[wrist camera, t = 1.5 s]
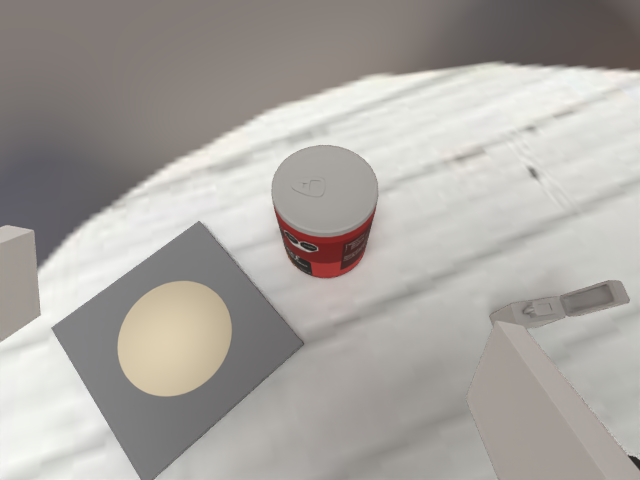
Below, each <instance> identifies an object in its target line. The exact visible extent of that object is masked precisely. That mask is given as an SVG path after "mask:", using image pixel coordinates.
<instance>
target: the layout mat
mask: <svg viewBox="0 0 640 480" xmlns="http://www.w3.org/2000/svg"><path fill="white" fill-rule="evenodd" d="M52 330H53V332H54V333H55V335H56V337H57V338H58V340H59V342H60V344H61V345H62V347H63V349H64V350H65V352H66V354H67V355H68V357H69V359H70V360H71V362H72V364H73V366H74V367H75V369H76V371H77V372H78V374H79V376H80V377H81V379H82V381H83V382H84V384H85V386H86V388H87V389H88V391H89V393H90V394H91V396H92V398H93V399H94V401H95V403H96V404H97V406H98V408H99V409H100V411H101V413H102V415H103V416H104V418H105V420H106V421H107V423H108V425H109V426H110V428H111V430H112V431H113V433H114V435H115V437H116V438H117V440H118V442H119V443H120V445H121V447H122V448H123V450H124V452H125V453H126V455H127V457H128V459H129V460H130V462H131V464H132V465H133V467H134V469H135V470H136V472H137V474H138V475H139V477H140V479H141V480H153V479H155V478H156V477H157V476H158V475H159V474H160V473H161V472H162V471H163V470H165V469H166V468H167V467H168V466H169V465H170V464H171V463H172V462H173V461H175V460H176V459H177V458H178V457H179V456H180V455H181V454H182V453H184V452H185V451H186V450H187V449H188V448H189V447H190V446H191V445H192V444H194V443H195V442H196V441H197V440H198V439H199V438H200V437H201V436H202V435H204V434H205V433H206V432H207V431H208V430H209V429H210V428H211V427H212V426H214V425H215V424H216V423H217V422H218V421H219V420H220V419H221V418H222V417H224V416H225V415H226V414H227V413H228V412H229V411H230V410H231V409H232V408H234V407H235V406H236V405H237V404H238V403H239V402H240V401H241V400H242V399H244V398H245V397H246V396H247V395H248V394H249V393H250V392H251V391H252V390H254V389H255V388H256V387H257V386H258V385H259V384H260V383H261V382H262V381H264V380H265V379H266V378H267V377H268V376H269V375H270V374H271V373H272V372H274V371H275V370H276V369H277V368H278V367H279V366H280V365H281V364H282V363H284V362H285V361H286V360H287V359H288V358H289V357H290V356H291V355H292V354H294V353H295V352H296V351H297V350H298V349H299V348H300V347H301V346H303V343H302V342H301V340H300V339H299V338H298V337H297V336H296V334H295V333H294V332H293V331H292V330H291V329H290V327H289V326H288V325H287V324H286V323H285V321H284V320H283V319H282V318H281V317H280V316H279V314H278V313H277V312H276V311H275V310H274V309H273V307H272V306H271V305H270V304H269V303H268V301H267V300H266V299H265V298H264V297H263V296H262V294H261V293H260V292H259V291H258V290H257V288H256V287H255V286H254V285H253V284H252V283H251V281H250V280H249V279H248V278H247V277H246V275H245V274H244V273H243V272H242V271H241V270H240V268H239V267H238V266H237V265H236V264H235V262H234V261H233V260H232V259H231V258H230V257H229V255H228V254H227V253H226V252H225V251H224V249H223V248H222V247H221V246H220V245H219V244H218V242H217V241H216V240H215V239H214V238H213V236H212V235H211V234H210V233H209V232H208V231H207V229H206V228H205V227H204V226H203V225H202V223H201V222H200V221H198V222H197V223H195V224H194V225H193V226H191V227H190V228H189V229H187V230H186V231H184V232H183V233H182V234H180V235H179V236H178V237H176V238H175V239H173V240H172V241H171V242H169V243H168V244H166V245H165V246H164V247H162V248H161V249H160V250H158V251H157V252H155V253H154V254H153V255H151V256H150V257H149V258H147V259H146V260H144V261H143V262H142V263H140V264H139V265H137V266H136V267H135V268H133V269H132V270H131V271H129V272H128V273H126V274H125V275H124V276H122V277H121V278H120V279H118V280H117V281H115V282H114V283H113V284H111V285H110V286H109V287H107V288H106V289H104V290H103V291H102V292H100V293H99V294H97V295H96V296H95V297H93V298H92V299H91V300H89V301H88V302H86V303H85V304H84V305H82V306H81V307H80V308H78V309H77V310H75V311H74V312H73V313H71V314H70V315H68V316H67V317H66V318H64V319H63V320H62V321H60V322H59V323H57V324H56V325H55V326H53V327H52Z"/></svg>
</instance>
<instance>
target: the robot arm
mask: <svg viewBox="0 0 640 480" xmlns="http://www.w3.org/2000/svg"><path fill="white" fill-rule="evenodd" d="M40 315H41V313H40V301H39V288H38V276H37V263H36V251H35V239H34V230H30V229H24V228H19V227H14V226H9V225H6V226H3V227H0V342H2V341H3V340H5V339H6V338H7V337H9V336H10V335H12V334H13V333H15V332H16V331H18V330H19V329H21V328H22V327H24V326H25V325H27V324H28V323H30V322H31V321H33V320H34V319H36V318H37V317H38V316H40ZM466 401H467V403H468V406H469V408H470V411H471V413H472V416H473V418H474V421H475V423H476V426H477V428H478V431H479V433H480V435H481V438H482V440H483V443H484V445H485V448H486V450H487V453H488V455H489V458H490V460H491V463H492V465H493V467H494V470H495V472H496V475H497V477H498V480H640V460H639V459H638V458H636V457H633V456H628V455H627V454H626V453H625V452H624V451H623V449H622V448H621V447H620V446H619V444H618V443H617V442H616V441H615V439H614V438H613V437H612V436H611V434H610V433H609V432H608V431H607V429H606V428H605V427H604V426H603V424H602V423H601V422H600V421H599V420H598V418H597V417H596V416H595V415H594V413H593V412H592V411H591V410H590V408H589V407H588V406H587V405H586V403H585V402H584V401H583V400H582V398H581V397H580V396H579V395H578V393H577V392H576V391H575V390H574V388H573V387H572V386H571V385H570V383H569V382H568V381H567V380H566V379H565V377H564V376H563V375H562V374H561V372H560V371H559V370H558V369H557V367H556V366H555V365H554V364H553V362H552V361H551V360H550V359H549V357H548V356H547V355H546V354H545V352H544V351H543V350H542V349H541V347H540V346H539V345H538V344H537V342H536V341H535V340H534V339H533V338H532V336H531V335H530V334H529V333H528V331H527V330H526V329H525V328H524V326H522V325H517V324H512V323H507V322H502V321H497V320H496V321H495V324H494V326H493V329H492V331H491V334H490V337H489V339H488V342H487V344H486V347H485V349H484V352H483V354H482V357H481V360H480V362H479V365H478V367H477V370H476V372H475V375H474V377H473V380H472V383H471V385H470V388H469V390H468V393H467V395H466Z"/></svg>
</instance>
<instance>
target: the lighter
mask: <svg viewBox="0 0 640 480" xmlns="http://www.w3.org/2000/svg"><path fill="white" fill-rule="evenodd" d="M629 301H630V299H629V297H628V295H627V293H626V290H625V288H624V286H623V284H622V282H620V281H616V280H608V281H605V282H602V283H598V284H595V285H592V286H589V287H586V288H583V289H580V290H577V291H573V292H570V293H567V294H564V295H561V296H560V297H559V298H558V297H550V298H543V299H537V300H530V301H523V302H516V303H511V304H509V305H507V306H506V307H504V308H502V309H500V310H498V311H496V312H495V313H493V314H491V315H490V319H491V322H492V325H493V326H494V324H495V321H496V320H497V321H502V322H507V323H512V324H517V325H522V326H524V328H525V329H530V328H537V327H540V326H543V325H545V324H548V323H551V322H554V321H556V320H559V319H562V318H565V316H566V315H567V316H568V317H571V316H581V315H585V314H588V313H592V312H596V311H600V310H604V309H607V308H611V307H615V306H619V305H623V304H626V303H629Z"/></svg>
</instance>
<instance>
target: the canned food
mask: <svg viewBox="0 0 640 480" xmlns="http://www.w3.org/2000/svg"><path fill="white" fill-rule="evenodd" d="M377 199H378V182H377V179H376V176H375V173H374V172H373V170H372V168H371V166H370V165H369V164H368V163H367V162H366V161H365V160H364V159H363V158H362V157H360V156H359V155H358V154H356V153H354V152H352V151H350V150H348V149H345V148H342V147H337V146H331V145H318V146H312V147H308V148H305V149H302V150H299V151H297V152H295V153H293V154H292V155H290V156H289V157H288V158H287V159H285V160H284V161H283V162H282V164H281V165H280V166H279V167H278V169H277V171H276V172H275V174H274V178H273V181H272V200H273V205H274V209H275V213H276V217H277V221H278V224H279V228H280V231H281V235H282V238H283V242H284V246H285V249H286V252H287V254H288V257H289V258H290V260H291V261H292V263H293V264H294V265H295V266H296V267H297V268H298V269H300V270H301V271H303V272H305V273H307V274H309V275H312V276H315V277H320V278H331V277H336V276H339V275H342V274H345V273H346V272H348V271H350V270H351V269H353V268H354V267H355V266H356V265H357V264H358V263H359V261H360V260H361V258H362V256H363V254H364V252H365V248H366V244H367V240H368V236H369V233H370V229H371V225H372V221H373V217H374V214H375V209H376V205H377Z"/></svg>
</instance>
